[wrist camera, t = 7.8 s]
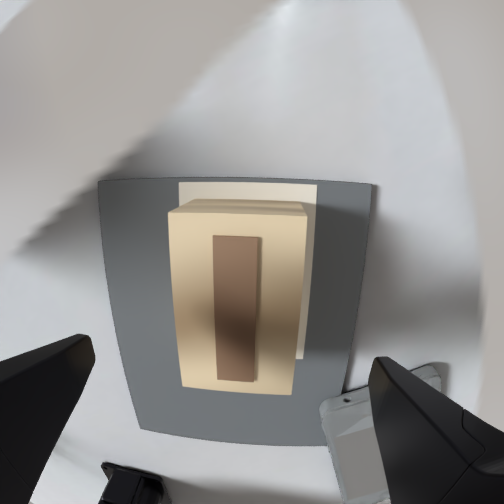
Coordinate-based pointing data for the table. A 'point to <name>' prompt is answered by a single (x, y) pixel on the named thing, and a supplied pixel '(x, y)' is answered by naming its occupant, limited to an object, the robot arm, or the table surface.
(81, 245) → the table surface
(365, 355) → the table surface
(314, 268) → the mat
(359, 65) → the table surface
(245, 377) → the cream block with stripe
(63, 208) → the table surface
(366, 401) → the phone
